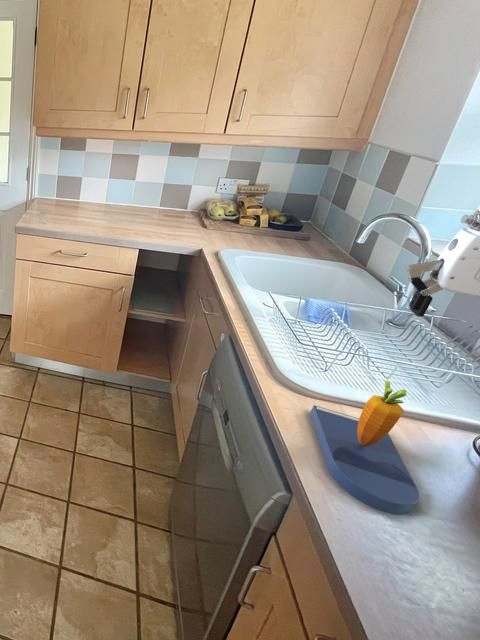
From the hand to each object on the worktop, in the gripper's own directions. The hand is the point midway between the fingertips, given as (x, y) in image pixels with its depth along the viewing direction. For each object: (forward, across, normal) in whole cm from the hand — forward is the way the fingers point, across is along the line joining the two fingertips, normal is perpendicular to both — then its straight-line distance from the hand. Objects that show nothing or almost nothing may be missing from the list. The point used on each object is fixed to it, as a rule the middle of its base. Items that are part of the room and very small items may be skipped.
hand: (452, 320), depth 72 cm
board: (+31, -5, -6) cm, 32 cm away
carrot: (+28, -4, -4) cm, 29 cm away
